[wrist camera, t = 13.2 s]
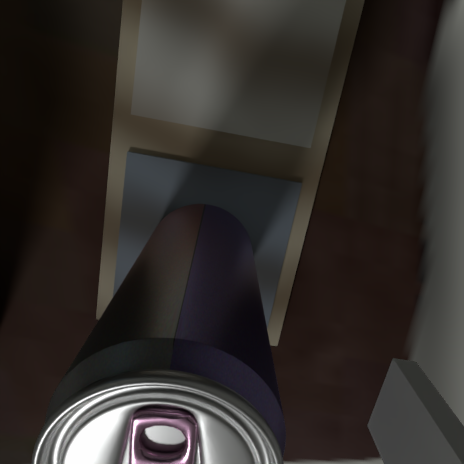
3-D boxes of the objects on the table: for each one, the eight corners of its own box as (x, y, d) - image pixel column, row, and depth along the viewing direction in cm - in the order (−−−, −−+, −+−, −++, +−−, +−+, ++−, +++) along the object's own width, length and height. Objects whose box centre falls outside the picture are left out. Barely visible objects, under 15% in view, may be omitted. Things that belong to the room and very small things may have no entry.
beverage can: (257, 206, 22) (316, 385, 8) (244, 298, 24) (271, 583, 9) (154, 195, 22) (12, 358, 7) (149, 289, 23) (26, 567, 9)
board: (140, -122, 18) (133, -142, 17) (375, -67, 19) (387, -82, 18) (101, 309, 25) (94, 321, 24) (274, 335, 26) (277, 348, 25)
